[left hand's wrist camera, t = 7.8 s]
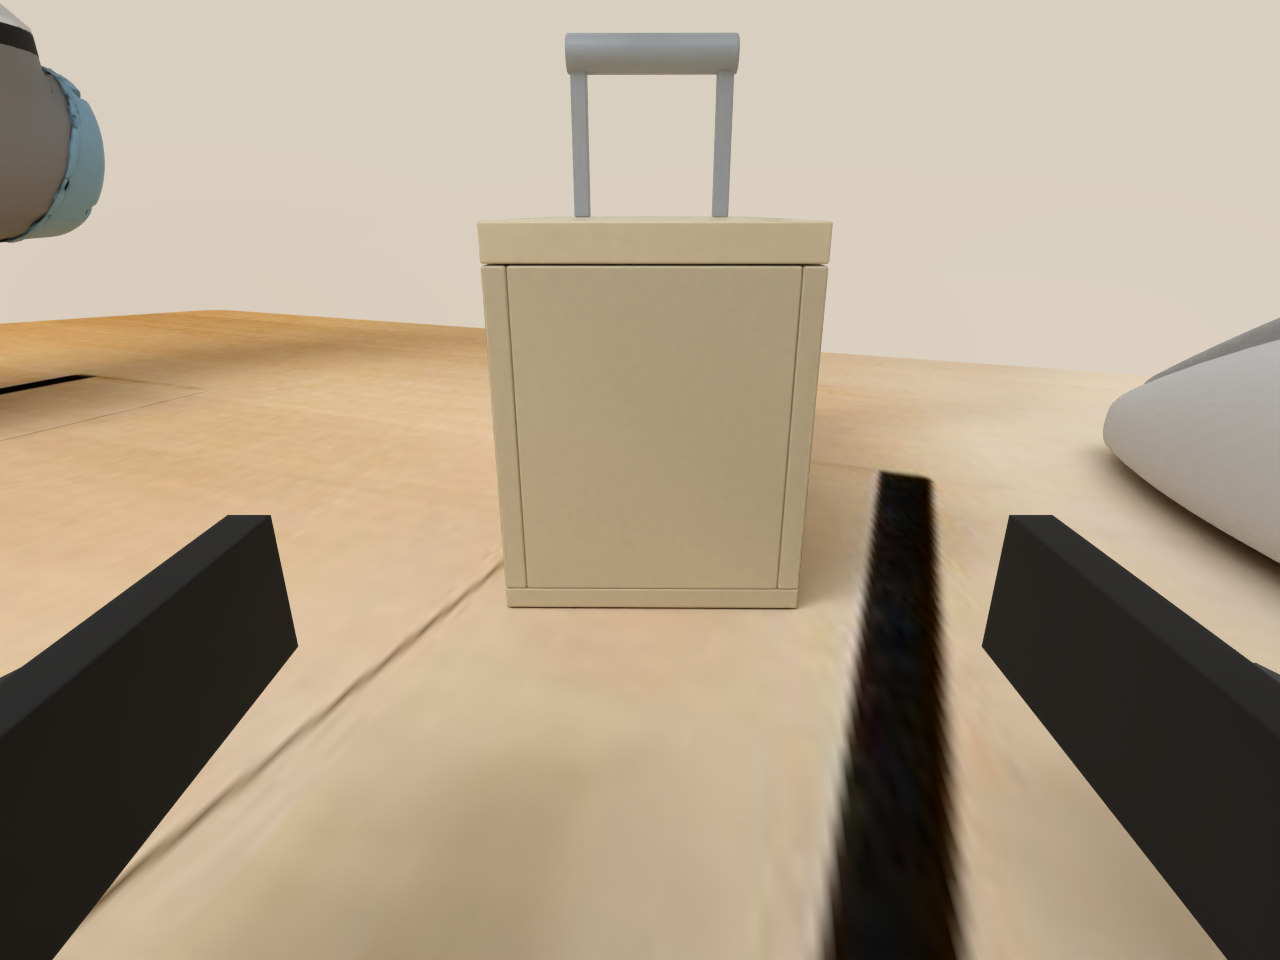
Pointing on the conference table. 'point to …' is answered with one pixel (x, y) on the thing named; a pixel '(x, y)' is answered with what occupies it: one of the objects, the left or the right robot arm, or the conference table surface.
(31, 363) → the conference table surface
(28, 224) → the right robot arm
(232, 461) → the conference table surface
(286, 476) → the conference table surface
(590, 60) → the lid
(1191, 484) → the projector
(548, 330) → the chest
